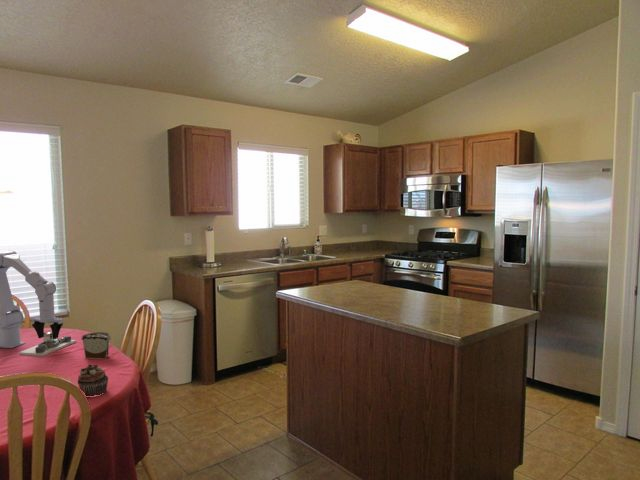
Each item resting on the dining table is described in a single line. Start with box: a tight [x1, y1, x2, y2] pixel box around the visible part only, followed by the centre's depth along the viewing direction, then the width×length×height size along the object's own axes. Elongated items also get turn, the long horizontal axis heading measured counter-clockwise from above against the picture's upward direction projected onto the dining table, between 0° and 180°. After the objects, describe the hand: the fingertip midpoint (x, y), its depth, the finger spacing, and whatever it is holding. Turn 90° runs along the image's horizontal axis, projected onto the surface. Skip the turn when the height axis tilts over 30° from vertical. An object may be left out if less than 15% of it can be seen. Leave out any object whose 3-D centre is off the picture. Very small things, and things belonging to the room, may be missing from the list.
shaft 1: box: [35, 344, 47, 353], centre depth 198 cm, size 5×3×3 cm, turn 9°
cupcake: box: [77, 364, 109, 396], centre depth 157 cm, size 10×10×10 cm
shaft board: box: [18, 338, 77, 357], centre depth 205 cm, size 12×20×2 cm, turn 169°
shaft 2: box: [57, 335, 72, 343], centre depth 211 cm, size 5×3×3 cm, turn 149°
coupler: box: [43, 331, 54, 345], centre depth 205 cm, size 4×4×6 cm
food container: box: [81, 331, 112, 360], centre depth 194 cm, size 12×6×10 cm, turn 84°
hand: (48, 338), depth 205 cm, fingers open, 7 cm apart
